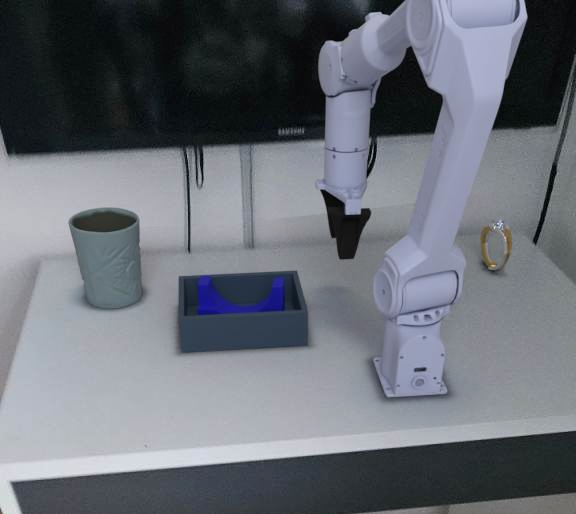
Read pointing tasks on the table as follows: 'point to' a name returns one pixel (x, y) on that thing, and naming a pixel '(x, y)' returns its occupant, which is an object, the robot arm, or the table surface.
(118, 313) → the table surface
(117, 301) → the embossed grey cup
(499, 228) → the ring
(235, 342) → the desk bin
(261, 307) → the blue cradle bracket
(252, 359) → the table surface
